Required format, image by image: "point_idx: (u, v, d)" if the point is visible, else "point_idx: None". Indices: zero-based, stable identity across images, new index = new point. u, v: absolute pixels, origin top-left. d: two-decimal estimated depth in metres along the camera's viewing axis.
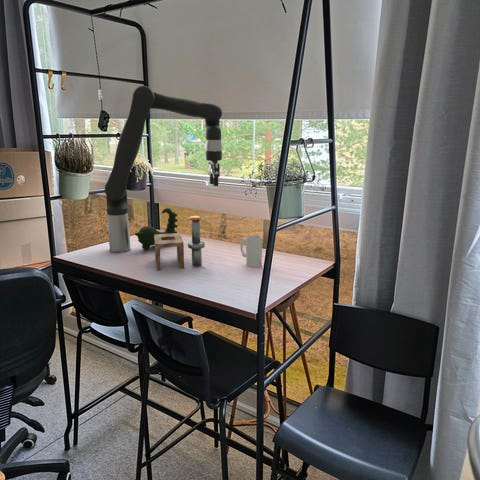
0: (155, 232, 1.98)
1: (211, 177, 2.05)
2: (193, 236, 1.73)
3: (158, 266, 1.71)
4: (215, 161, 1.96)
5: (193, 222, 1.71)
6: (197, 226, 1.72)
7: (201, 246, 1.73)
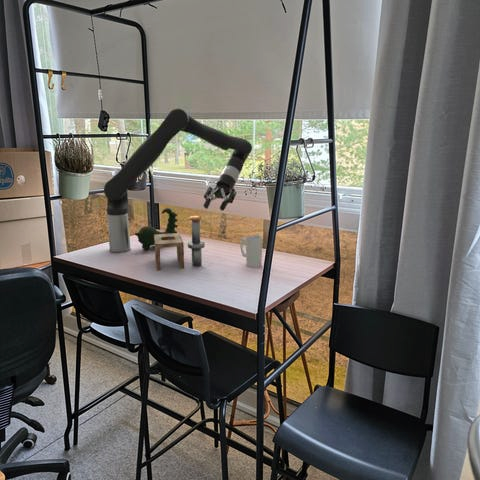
0: (155, 232, 1.98)
1: (208, 201, 1.84)
2: (193, 236, 1.73)
3: (158, 266, 1.71)
4: (230, 188, 1.83)
5: (193, 222, 1.71)
6: (197, 226, 1.72)
7: (201, 246, 1.73)
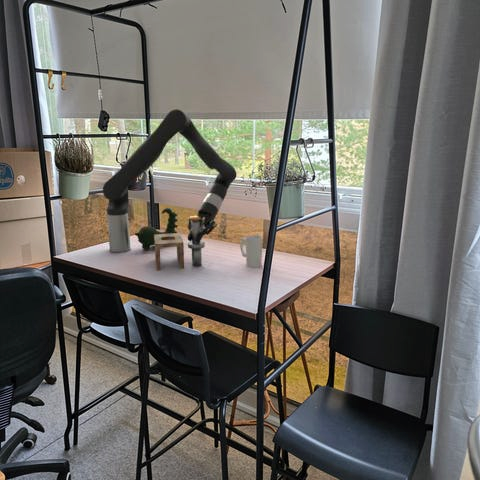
0: (155, 232, 1.98)
1: None
2: (193, 236, 1.73)
3: (158, 266, 1.71)
4: (212, 217, 1.76)
5: (193, 222, 1.71)
6: (197, 226, 1.72)
7: (201, 246, 1.73)
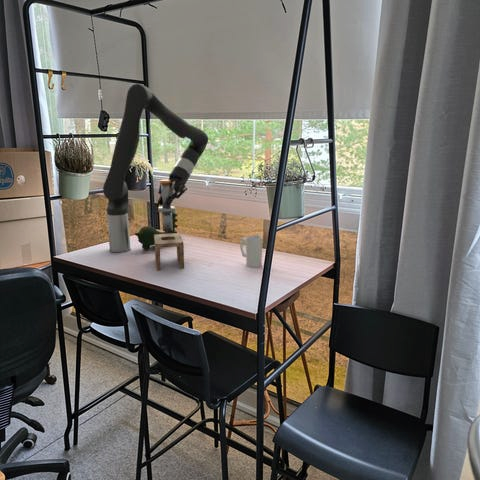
0: (155, 232, 1.98)
1: None
2: (163, 200, 1.72)
3: (158, 266, 1.71)
4: (183, 181, 1.74)
5: (163, 185, 1.70)
6: (167, 189, 1.70)
7: (171, 210, 1.71)
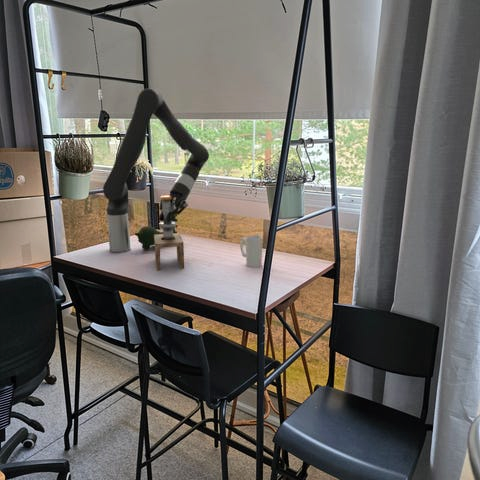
0: (155, 232, 1.98)
1: None
2: (164, 216, 1.73)
3: (158, 266, 1.71)
4: (184, 197, 1.76)
5: (164, 202, 1.72)
6: (168, 206, 1.72)
7: (172, 226, 1.73)
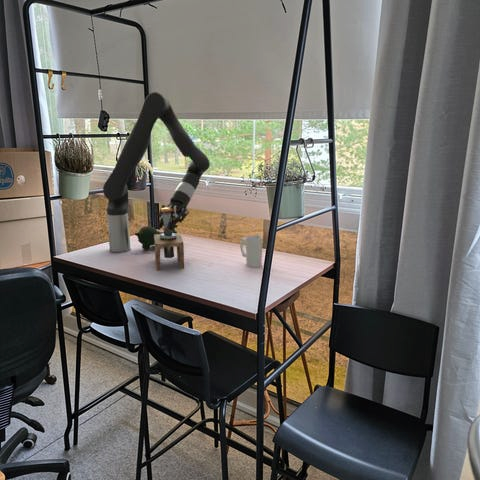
0: (155, 232, 1.98)
1: (162, 220, 1.77)
2: (165, 227, 1.74)
3: (158, 266, 1.71)
4: (184, 205, 1.77)
5: (164, 214, 1.73)
6: (168, 218, 1.73)
7: (172, 237, 1.74)
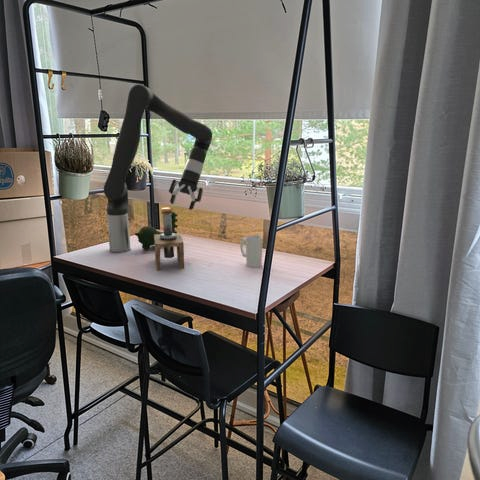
0: (155, 232, 1.98)
1: (174, 197, 1.86)
2: (165, 227, 1.74)
3: (158, 266, 1.71)
4: None
5: (164, 214, 1.73)
6: (168, 218, 1.73)
7: (172, 237, 1.74)
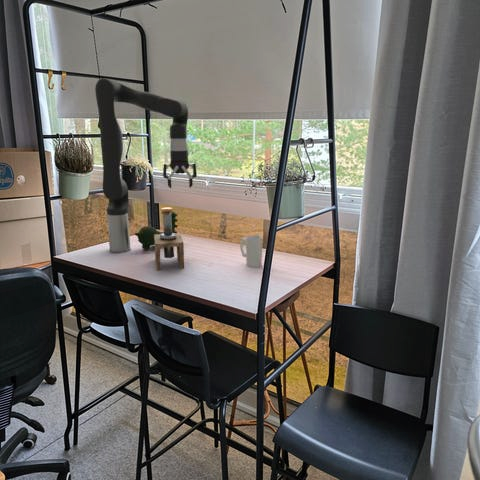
0: (155, 232, 1.98)
1: None
2: (165, 227, 1.74)
3: (158, 266, 1.71)
4: None
5: (164, 214, 1.73)
6: (168, 218, 1.73)
7: (172, 237, 1.74)
